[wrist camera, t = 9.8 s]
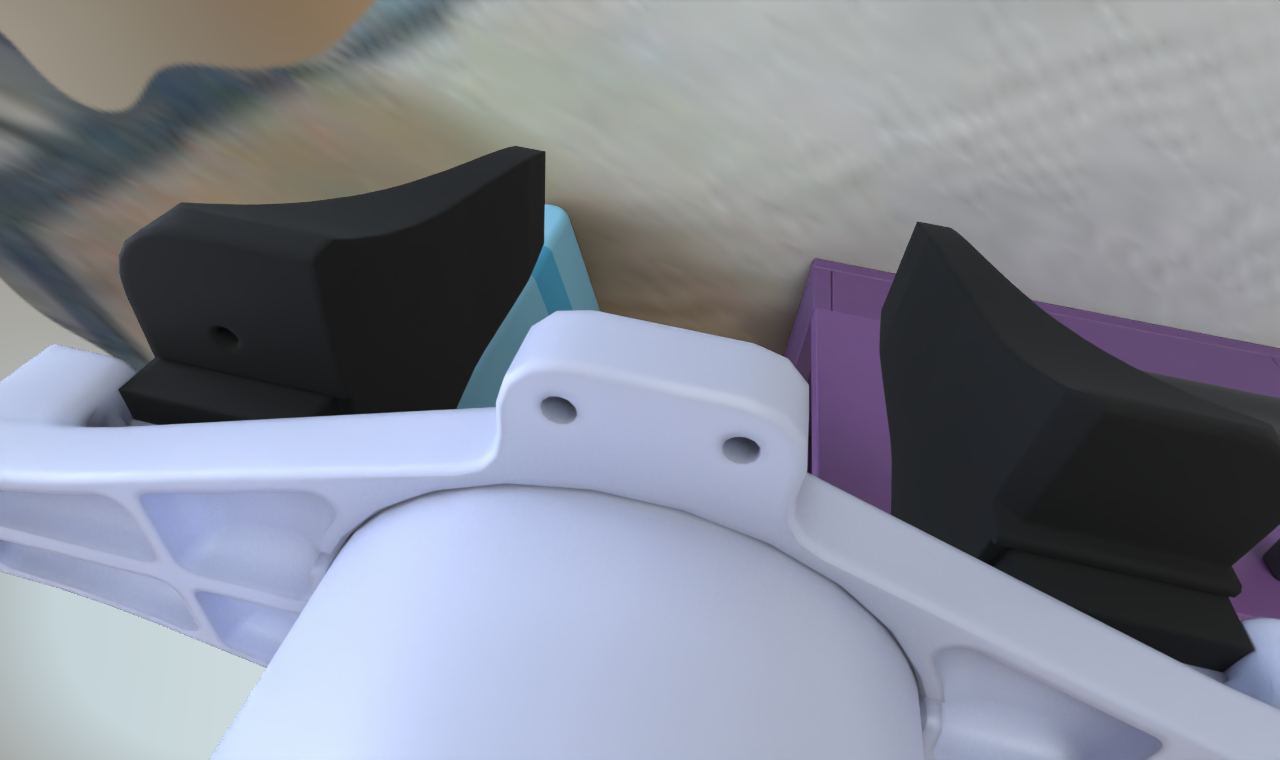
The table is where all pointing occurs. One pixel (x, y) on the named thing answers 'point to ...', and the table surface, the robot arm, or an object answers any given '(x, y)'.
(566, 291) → the data package
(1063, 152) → the table surface
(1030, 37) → the table surface
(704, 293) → the table surface
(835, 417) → the cover
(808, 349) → the purple box
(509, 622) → the robot arm
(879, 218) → the table surface
